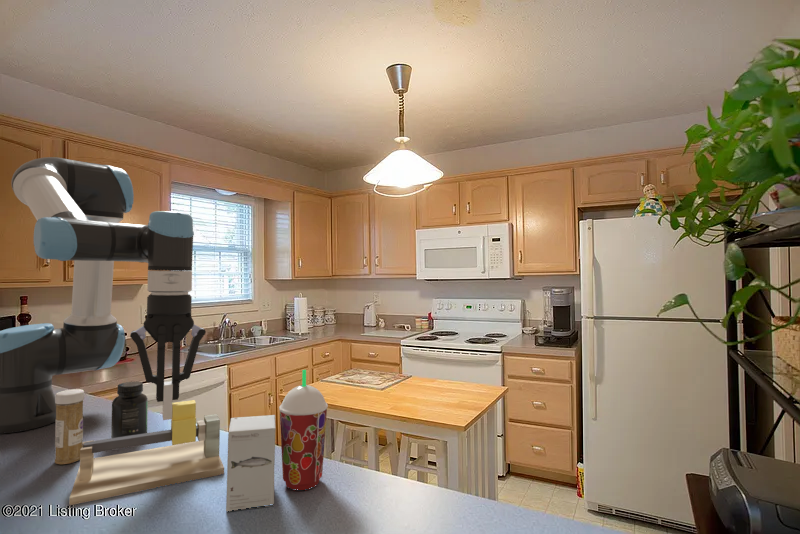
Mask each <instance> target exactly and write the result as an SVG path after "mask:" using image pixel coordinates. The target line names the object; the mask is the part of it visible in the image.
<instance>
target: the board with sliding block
mask: <svg viewBox="0 0 800 534" xmlns="http://www.w3.org/2000/svg"><path fill="white" fill-rule="evenodd" d="M196 426H198V437H196V438H197V440H198V441H197V440H196V441H195V442H189V443H183V444H177V445H172V444H171V445H165V446H160V447H154V448H148V449H143V450H141V449H140V450H136V451H130V452H124V453H117V454H112V455H106V456H99V457H94V456H95V455H94V454H95V453H92V447H85V448H83V445H84V442H90V441H91V440H88V441H82V448H81V449H80V460H79V467H78V471H77V474H76V475H75V476H76V477H75V479H74V483H73V486H72V489H71V492H70V495H69V504H68V505H69V506H73V505H77V504H83V503H87V502H88V503H89V502H93V501H98V500H102V499H108V498H112V497H117V496H123V495H127V494H132V493H139V492H143V491H148V490H152V489H157V488H156V487H158V488H161V487H160V486H163V487H166V486H165V485H167V486H171V485H170V484H172V485H176V484H175V483H177V484H182V483H186V481H187V482H191V481H190V480H192V481H196V479H197V480H201V479H200V478H202V479H206V478H207V479H208V478H211V477H216V476H220V475H221V474H222V475H225V467H224V463H223V461H222V459H221V457H220V443H221V442H220V439H221V438H220V434H221V433H220V432H221V429H220V428H221V419H220V418H219V415H218V414H217V413H215V414H208V415H204V416H203V420H202V419H201V420H196ZM92 441H95V439H93V440H92ZM181 482H182V483H181ZM147 489H148V490H147ZM142 490H143V491H142Z"/></svg>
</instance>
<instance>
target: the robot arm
mask: <svg viewBox="0 0 800 534" xmlns="http://www.w3.org/2000/svg"><path fill="white" fill-rule="evenodd" d="M10 185H11V189H12V191H13V193H14V196H15V197H16V198H17V199H18V200H19V201H20V202H21V204H24V205H25V206H27V207H28V208H29V210H30V212H31V213H32V215H33V217H34V218H35V220H36V222H35V224H34V227H33V228H34V230H33V246H34V252H35V254H36V256H37V257H39V258H40V259H43V260H55V261H56V260H58V261H61V262H64V261H65V262H67V261H73V262H74V264H73V279H72V294H71V295H72V296H71V313H70V314H69V315H68V316H67V317H66V318H64V319H63V326H62V327H61V328H60V327H59V328H55V325H53V324H52V323H51V322H50V323H49V322H48V323H47V322H46V323H45V322H44V323H32V324H26V325H20V326H15V327H9V328H6V329H3V330H0V435H1V434H12V433H18V432H23V431H29V430H35V429H38V428H41V427H42V428H43V427H44V426H48V425H50V424H53V423H54V422H56V403H55V395H56V393H55V392H54V389H53V376H59V375H66V374H73V373H74V374H75V373H80V372H81V373H82V372H88V371H99V370H103V369H107V368H111V367H113V366H115V365H116V364H117V363H118V362H119V361H120V359H121V357H122V355H123V352H124V348H125V341H126V340H125V339H126V338H125V337H126V336H125V329H124V327H123V326H122V325H121V324H119V323H118V319H117V318H116V317H115V316H114V315H113V314H112V299H113V297H112V296H113V285H114V281H113V279H114V269H115V267H114V266H115V265H114V263H115V262H127V263H129V262H130V263H133V262H134V263H147V291H148V292H150V294H149V295H148V296H147V298H146V317H145V320H144V322H143V326H141V327H139V328H137V329H136V330H132V331H131V332H130V336H129V337H130V339H131V340H132V341H133V343H134V344H135V345H136V347H137V352H138V355H139V360H140V362H141V367H142V370H143V375H144V378H145V382H146V383H149V384H151V383H152V384H154V385H155V386H156V387H155V388H156V392H155V393H156V395H155V398H156V402H157V403H161V402H162V421H167V420H171V419H172V403H173V401H177V400H179V397H180V383H181V382H182V381H184V380H188V379H190V377H191V373H192V370H193V367H194V364H195V360H196V358H197V357H196V356H197V353H198V349H199V346H200V342H201V340H202V339H203V338H204V336H205V335H206V333H207V331H206V330H205V328H203V327H200V326H198V325H197V324H195V322H194V319H193V317H192V298H193V296H192V295H191V294H189V292H191V291H193V290H192V289H193V288H192V286H193V254H194V253H193V249H194V235H195V231H194V223H193V222H194V221H193V217H192V216H191V214H188V213H186V212H179V211H170V210H169V211H168V210H166V211H165V210H161V211H160V210H155V211H152V212H151V213H150V214H149V218H148V223H147V224H135V223H134V224H133V223H126V222H125V223H124V222H121V221H123V220H124V214H127V213H130V212H131V211H132V209H133V205H134V197H135V196H134V186H133V183H132V180H131V178H130V175H129V174H128V173H127V171H125V170H124V169H123V168H120V167H116V166H112V165H109V164H101V163H93V162H87V161H81V160H75V159H67V158H62V157H58V156H57V157H56V156H55V157H54V156H50V157H49V156H48V157H40V158H35V159H32V160H29V161H27V162H25V163H23V164H21V165H19V167H18V168H16V170H15V171H14V172H13V175H12V178H11V184H10ZM190 331H191V336H192V338H191V341H190V343H189V344H190V345H189V348H188V352H187V355H186V359H185V362H184V366H183V368H182V369H183V370H182V371H181V367H180V366H181V344H182V343H181V341H183V340H184V338H185V337H186V335H188V333H189V332H190ZM146 332H147V333H148V334H149V336H150V337H151V338H152V340H153V341H154V342H156V343H157V344H156V345H157V346H156V347H157V348H156V349H157V350H156V352H157V353H156V374H153V370H152V367H151V363H150V358H149V354H148V351H147V347H146V343H145V341H144V340H145V339H146ZM166 343H171V344H172V349H171V350H172V352H171V354H172V358H171V361H172V363H171V380H170V381H165V369H166V368H165V365H166V364H165V362H166V361H165V359H166V358H165V357H166ZM180 371H181V372H180Z"/></svg>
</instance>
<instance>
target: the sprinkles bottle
mask: <svg viewBox="0 0 800 534" xmlns="http://www.w3.org/2000/svg"><path fill="white" fill-rule="evenodd" d="M84 400H85V391H84V390H83V389H80V388H73V389H66V390H62V391H58V392H56V393H55V403H56V421H55V429H54V431H55V436H54V446H55V456H54V457H55V458H54V463H55V464H56V465H69V464H73V463H75V462H78V461H80V449H81V448H82V444H83V442H84V438H83V437H84V418H83V417H84V414H83V413H84V412H83V411H84V409H83V408H84Z"/></svg>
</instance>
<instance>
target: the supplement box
mask: <svg viewBox="0 0 800 534" xmlns="http://www.w3.org/2000/svg"><path fill="white" fill-rule="evenodd" d="M276 426H277V425H276V415H275V414H271V415H270V414H268V415H256V416H253V415H252V416H238V417H231V418H230V422H229V426H228V428H229V429H228V434H227V438H228V439H227V462H226V463H227V466H226V467H227V468H226V473H227V474H226V503H225V511H227V512H226V513H229V512H232V510H234V511H239V510H238V509H241V510H247V509H246V508H249V509H252V508H251V507H257V506H264V505H270V504H274V505H275V465H276V464H275V458H276V456H275V455H276ZM257 508H258V507H257ZM228 511H229V512H228Z"/></svg>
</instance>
